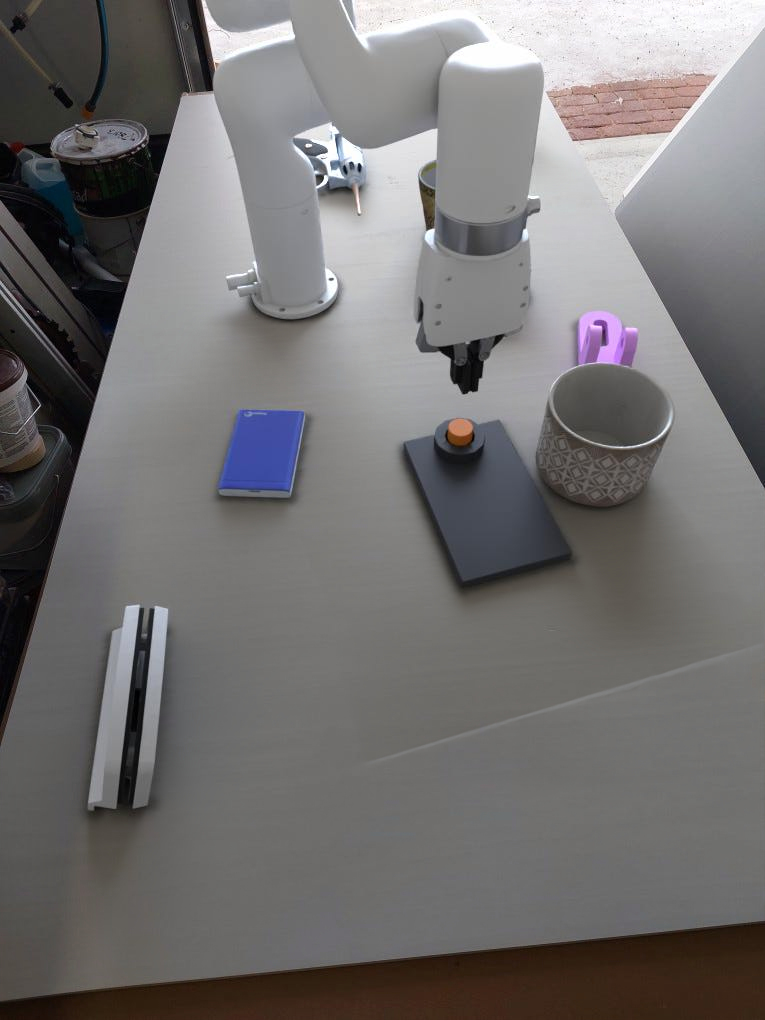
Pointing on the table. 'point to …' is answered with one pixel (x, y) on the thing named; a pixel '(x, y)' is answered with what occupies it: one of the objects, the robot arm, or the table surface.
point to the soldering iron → (335, 162)
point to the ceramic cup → (428, 192)
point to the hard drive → (263, 454)
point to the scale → (485, 504)
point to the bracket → (617, 340)
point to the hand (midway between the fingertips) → (465, 384)
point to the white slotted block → (130, 710)
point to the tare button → (460, 432)
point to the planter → (603, 433)
